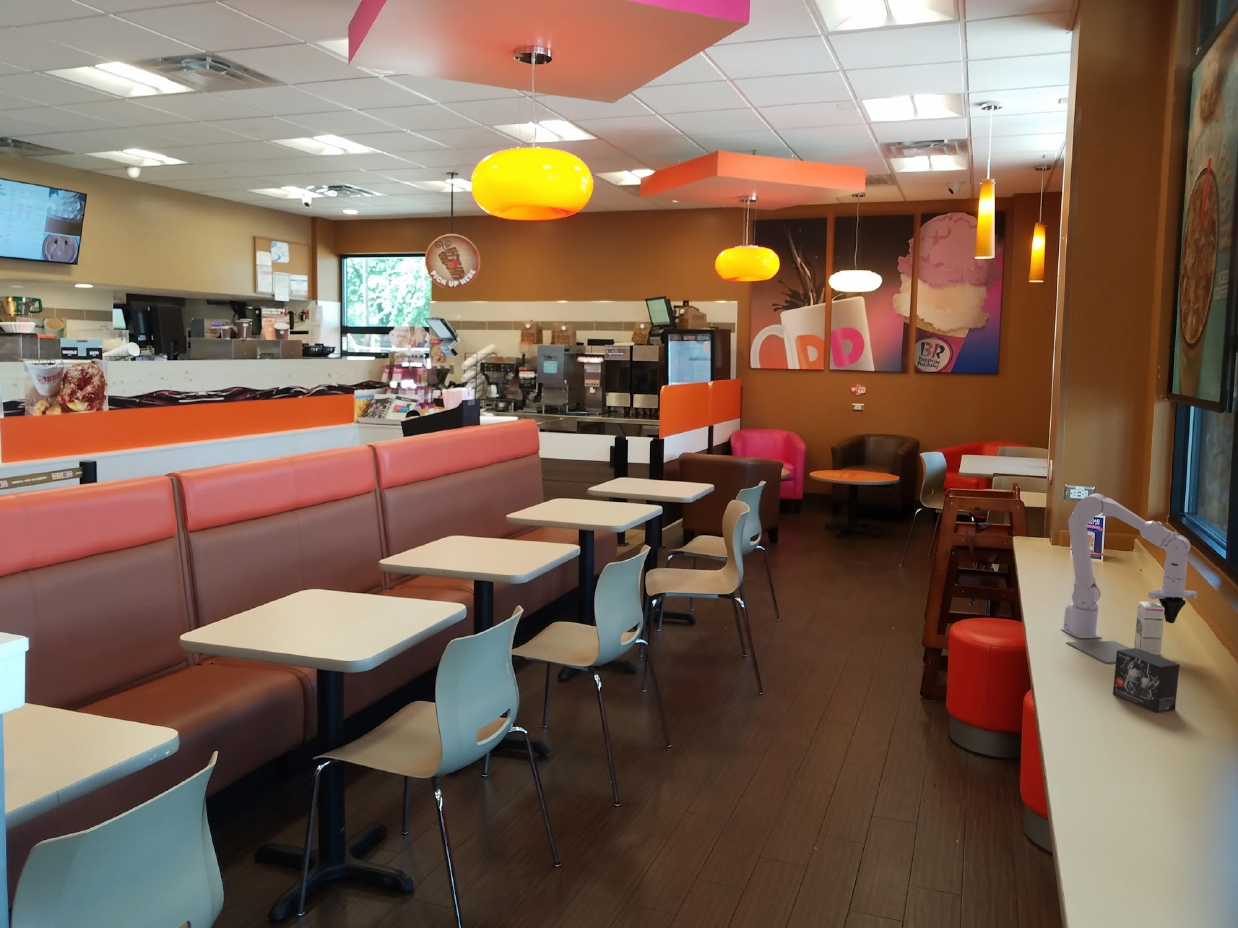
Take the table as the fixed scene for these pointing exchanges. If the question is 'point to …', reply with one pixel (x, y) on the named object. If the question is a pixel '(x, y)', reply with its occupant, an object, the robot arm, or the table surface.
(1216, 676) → the table surface
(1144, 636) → the syrup box
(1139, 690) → the small box
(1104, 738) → the table surface
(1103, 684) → the table surface
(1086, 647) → the grey mat
